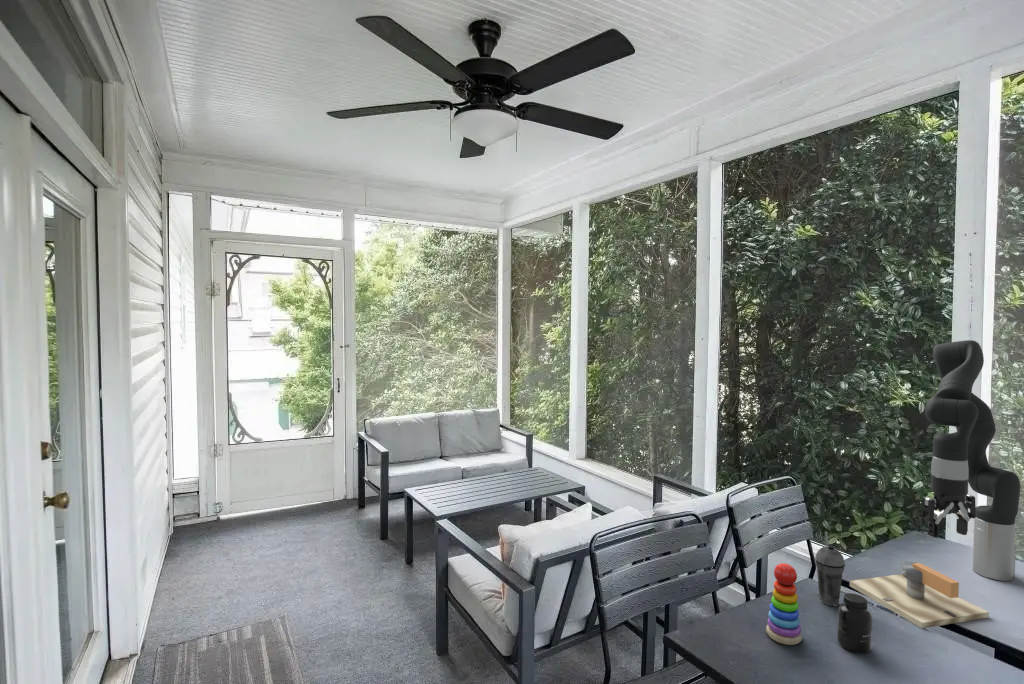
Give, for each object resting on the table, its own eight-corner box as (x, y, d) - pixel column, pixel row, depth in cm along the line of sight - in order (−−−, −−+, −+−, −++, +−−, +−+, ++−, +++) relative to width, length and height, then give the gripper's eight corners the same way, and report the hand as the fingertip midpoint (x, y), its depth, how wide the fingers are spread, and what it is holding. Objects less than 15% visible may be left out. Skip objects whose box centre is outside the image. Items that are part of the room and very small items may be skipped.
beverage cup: (850, 609, 143) (851, 537, 143) (823, 609, 144) (824, 537, 143) (834, 595, 151) (835, 526, 150) (808, 595, 151) (810, 526, 150)
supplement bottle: (871, 658, 123) (872, 608, 122) (837, 648, 126) (838, 600, 126) (870, 643, 129) (871, 595, 128) (837, 634, 132) (838, 587, 132)
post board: (909, 577, 161) (910, 556, 160) (988, 617, 139) (989, 593, 139) (849, 585, 156) (850, 564, 156) (922, 628, 134) (922, 603, 134)
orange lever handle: (892, 572, 150) (893, 559, 150) (918, 570, 151) (918, 557, 151) (940, 599, 136) (940, 584, 135) (968, 596, 137) (968, 581, 137)
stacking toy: (758, 631, 133) (760, 559, 133) (781, 624, 136) (783, 554, 136) (785, 649, 126) (786, 573, 125) (809, 642, 129) (810, 567, 128)
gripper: (957, 469, 142) (956, 527, 143) (913, 472, 140) (911, 531, 140) (987, 477, 135) (985, 539, 135) (940, 480, 132) (938, 543, 133)
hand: (947, 535), depth 138 cm, fingers open, 8 cm apart
